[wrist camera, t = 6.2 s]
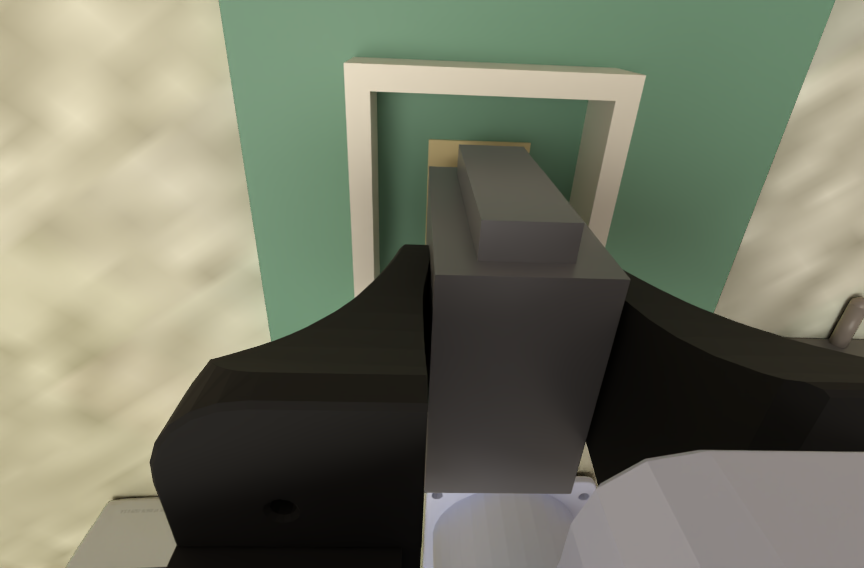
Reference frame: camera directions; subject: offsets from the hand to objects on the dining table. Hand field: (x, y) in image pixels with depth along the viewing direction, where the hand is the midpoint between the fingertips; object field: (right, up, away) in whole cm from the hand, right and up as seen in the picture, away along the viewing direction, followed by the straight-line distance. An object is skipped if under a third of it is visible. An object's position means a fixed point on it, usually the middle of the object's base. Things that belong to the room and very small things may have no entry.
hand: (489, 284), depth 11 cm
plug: (0, +1, +2) cm, 2 cm away
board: (+1, +3, +5) cm, 5 cm away
